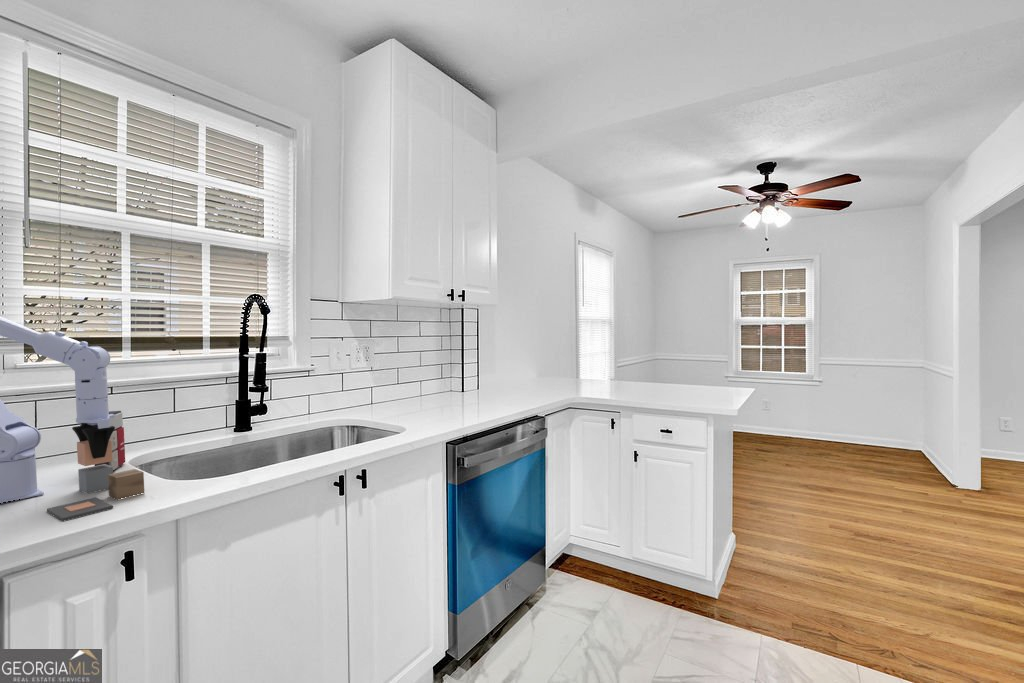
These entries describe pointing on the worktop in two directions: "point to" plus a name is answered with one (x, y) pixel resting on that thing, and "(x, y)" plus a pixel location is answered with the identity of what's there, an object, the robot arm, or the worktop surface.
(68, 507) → the board
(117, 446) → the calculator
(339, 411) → the worktop surface
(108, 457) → the terracotta block
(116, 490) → the walnut block
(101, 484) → the slate block
